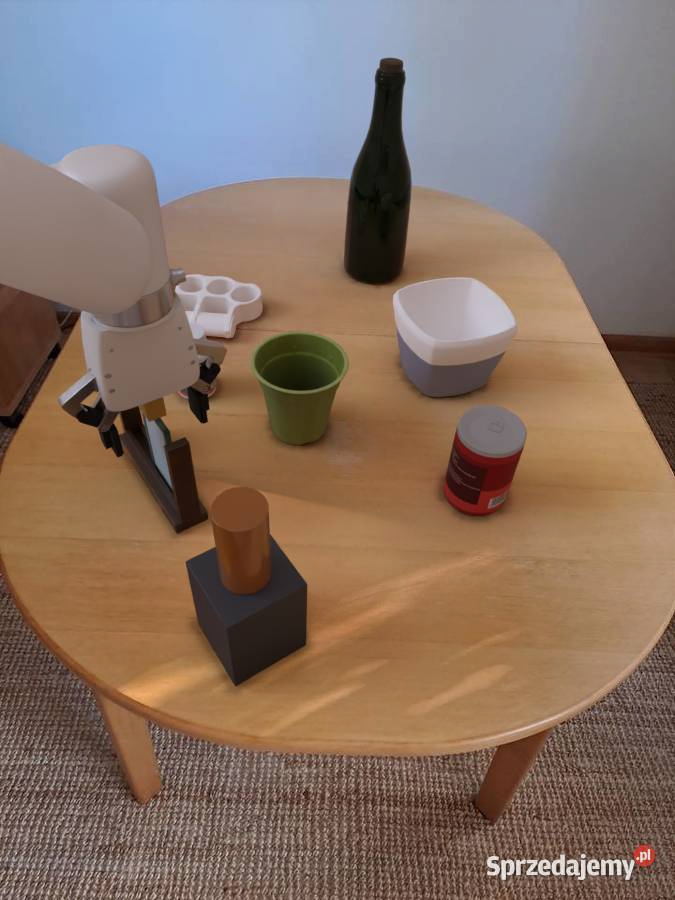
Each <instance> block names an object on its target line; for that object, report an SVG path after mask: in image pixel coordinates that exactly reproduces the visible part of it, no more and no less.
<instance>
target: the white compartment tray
mask: <svg viewBox="0 0 675 900" xmlns="http://www.w3.org/2000/svg"><path fill="white" fill-rule="evenodd" d="M185 276H186V281H185V282H183V283H179V285H178V286H176V289H175V292H176V293H177V295H178V296H179V298H180V300H181V302H182V305H183V307H184V310H185V312H186V315H187V318H188V321H189V323H196V324H199V325H201V326H202V327H203V328H204V330H205V335H206V337H215V338H216V337H219V338H226V339H231V338H234V336H235V333H236V329H237V325H239V324H241V323H245V322H251V321H254V320H256V319H258V318H259V317H260V316H261V315H262V313H263V311H264V310H263V309H264V307H263V292H262V289H261V288H260V287H259V285H257V284H255V283H252V282H250V283H247V282H246V283H245V282H239V281H237V280H234V279H233V278H231V277H228V276H223V275H217V276H216V275H215V276H211V275H203V274H201V273H194V274H187V275H186V274H185Z"/></svg>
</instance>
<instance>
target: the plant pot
mask: <svg viewBox="0 0 675 900" xmlns="http://www.w3.org/2000/svg"><path fill="white" fill-rule="evenodd" d="M253 349H254V350H253V351H252V353H251V354H250V355H251V356H250V360H249V361H250V368H251V371H252V374H253V375H254V376H255V377H256V379H257V380H258V384H259V387H260V388H261V391H262V394H263V399H264V402H265V406H266V410H267V414H268V418H269V424H270V427H271V430H272V432H273V434H274V435H275V437H276V438H277V439H278V440H280V441H282V442H284V443H286V444H290V445H295V446H301V445H304V444H307V443H314V442H316V441H317V440H319V439H320V438H322V436H323V435H324V434H325V432H326V429H327V425H328V421H329V418H330V415H331V411H332V407H333V404H334V400H335V398H336V394H337V390H338V389H339V387H340V384H341V382H342V380H343V379H344V378H345V377H346V375H347V373H348V371H349V366H350V360H349V357H348V354H347V352H346V351H345V349H344V348H343V347H342V345H340V344H339V343H338V342H336V341H335V340H333V339H332V338H330V337H328V336H325V335H323V334H320V333H316V332H313V331H312V332H311V331H301V330H297V331H295V330H294V331H285V332H281V333H277V334H274V335H271V336H269V337H267V338H265V339H264V340H262V341H261V342H260V343H259V344H257V346H256V347H254V348H253Z"/></svg>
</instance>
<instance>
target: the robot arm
mask: <svg viewBox="0 0 675 900" xmlns="http://www.w3.org/2000/svg"><path fill="white" fill-rule="evenodd" d="M165 236H166V235H165V231H164V224H163V218H162V211H161V203H160V198H159V191H158V184H157V178H156V174H155V170H154V168H153V165H152V163H151V161H150V160H149V159H148V158H147V156H145V154H143V153H142V152H141V151H138V150H137V149H135V148H133V147H129V146H125V145H121V144H105V143H104V144H95V145H88V146H84V147H81V148H77V149H75V150H72V151H71V152H69V153H67V154H66V155H65V156H63V157H62V159H61V160H59V162H57V163H52V164H49V165H48V164H45V163H44V162H43V161H40V160H38V159H36V158H34V157H32V156H30V155H28V154H26V153H24V152H22V151H20V150H18V149H16V148H14V147H12V146H10V145H8V144H5V143H3V142H1V141H0V284H1V285H4V286H7V287H10V288H12V289H16V290H18V291H22V292H24V293H28V294H31V295H34V296H37V297H40V298H43V299H46V300H49V301H52V302H55V303H58V304H61V305H65V306H68V307H69V308H73V309H77V310H79V311H81V312H80V331H81V333H80V334H81V340H82V348H83V355H84V360H85V365H86V370H87V373H85V374H84V375H83V376H81V378H79V380H77V381H76V382H75V383H73V384H72V385H71V386H70V387H69V388H67V389H66V390H65V391H64V392H63V393H62V394H60V395H59V397H58V398H57V402H58V404H59V405H60V407H61V409H62V410H63V411H65V412H66V413H67V414H69V415H70V416H72V418H74V419H76V420H77V421H78V422H79V423H81V424H84V425H87V426H91V427H93V428H95V429H97V431H98V435H99V437H100V440H101V443H102V446H103V447H104V448H105V450H109V449H111V450H112V451H113V453H114V454H115V456H116V457H117V458H121V457H123V455H124V454H125V451H124V449H123V448H122V444H121V441H120V437H119V435H120V433H119V430H118V428H117V426H116V424H115V421H116V420H117V417H118V416H119V412H120V411H124V410H127V409H131V408H134V407H136V406H139V405H142V404H145V403H148V402H151V401H153V400H156V399H159V398H161V397H163V398H164V397H166V396H169V395H172V394H175V393H178V391H180V390H182V389H185V388H187V393H188V399H189V400H188V399H187V400H188V405H189V410H190V412H192V414H193V415H194V416H195V418H196V419H197V420H198V421H199V423H200V424H203V425H205V424H206V423H208V422H209V420H208V418H209V417H208V411H210V400H209V397H208V393H209V392H210V391H211V389H212V387H211V383H212V382H213V381H214V379H215V378H216V379H217V377H218V375H219V374H220V373H221V371H222V369H221V365H223V362H224V360H225V358H226V355H227V354H228V349H227V348H226V346H225V345H224V344H223V343H222V342H221V341H217V340H209V339H207V340H202V339H194V338H193V334H192V331H191V328H190V324H189V321H188V318H187V315H186V312H185V310H184V307H183V305H182V302H181V300H180V298H179V296H178V295H177V293H176V292H175V289H176V286H178V285H179V283H183V282H185V281H186V273H185V270H184V269H183V268H182V267H177V268H170V265H169V257H168V251H167V250H168V249H167V244H166V237H165ZM198 355H203V356H207V357H208V358H207V359H206V360H205V361H204V362H203V364H202V365H201V366H200V368H199V360H198ZM93 393H98V395H97V397H96V398H95V400H94V401H93V404H92V405H91V406H90V405H86V404H84V403H82V402H84V401H85V400H87V398H89V396H91V395H92V394H93Z"/></svg>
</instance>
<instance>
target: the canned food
mask: <svg viewBox="0 0 675 900" xmlns="http://www.w3.org/2000/svg"><path fill="white" fill-rule="evenodd" d="M527 435H528V432H527V427H526V425H525V423H524V421H523V420H522V419H521V417H519V416H518V415H517V414H515V413H514V412H512V411H511V410H509V409H507V408H504V407H501V406H496V405H489V404H488V405H487V404H485V405H478V406H474V407H470V408H469V409H467V410H466V411H465V412H463V413H462V414H461V416H460V417H459V420H458V422H457V426H456V429H455V433H454V438H453V442H452V447H451V451H450V456H449V459H448V463H447V468H446V472H445V477H444V481H443V490H444V495H445V499H446V500H447V502H448V503H449V504H450V506H452V507H453V509H455V510H456V511H459V512H460V513H462V514H465V515H468V516H473V517H482V516H483V517H484V516H488V515H491V514H493V513H495V512H496V511H497V510H499V509H500V508H501V507H502V505H503V504H504V503H505V501H506V499H507V496H508V494H509V491H510V489H511V485H512V482H513V479H514V476H515V473H516V472H517V468H518V465H519V463H520V460H521V457H522V454H523V451H524V448H525V444H526V442H527V437H528V436H527Z"/></svg>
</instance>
